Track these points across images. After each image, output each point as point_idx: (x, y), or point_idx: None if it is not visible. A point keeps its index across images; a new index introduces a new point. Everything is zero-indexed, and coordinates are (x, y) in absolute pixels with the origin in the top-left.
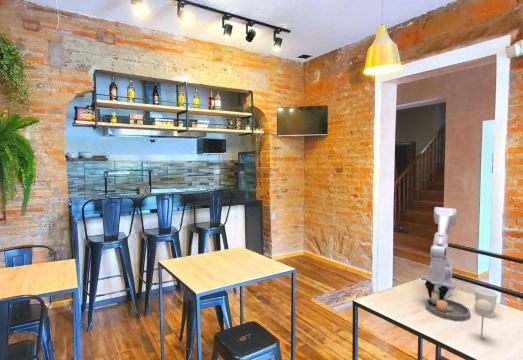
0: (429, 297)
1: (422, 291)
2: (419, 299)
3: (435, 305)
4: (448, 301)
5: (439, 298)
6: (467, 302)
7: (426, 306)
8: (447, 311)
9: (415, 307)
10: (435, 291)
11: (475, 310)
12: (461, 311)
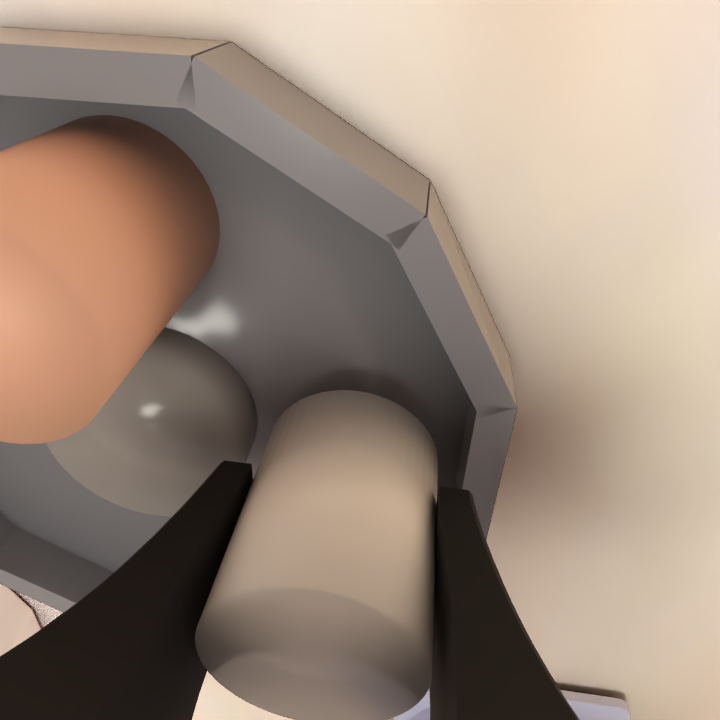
0: (467, 497)
1: (705, 699)
2: (674, 463)
3: None
4: None
5: (212, 511)
6: (205, 715)
7: (416, 190)
8: None
9: (642, 23)
10: (353, 686)
11: (24, 612)
12: (41, 490)
